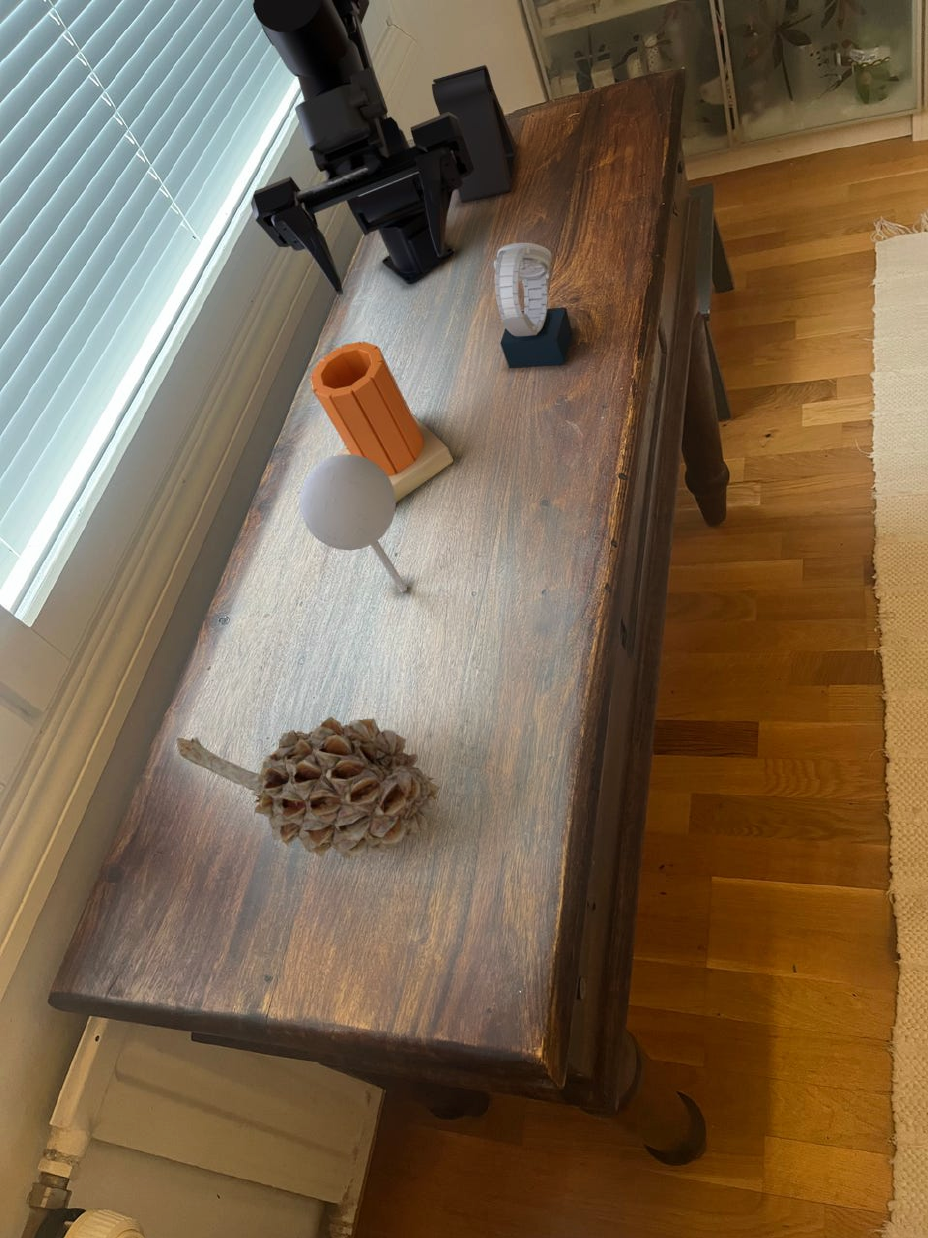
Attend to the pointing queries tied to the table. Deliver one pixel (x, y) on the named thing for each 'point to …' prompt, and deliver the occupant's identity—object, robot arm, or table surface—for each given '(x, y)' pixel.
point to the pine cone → (334, 787)
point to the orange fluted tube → (367, 406)
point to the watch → (529, 308)
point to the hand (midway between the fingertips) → (389, 273)
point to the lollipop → (350, 506)
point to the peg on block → (419, 464)
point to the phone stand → (479, 131)
